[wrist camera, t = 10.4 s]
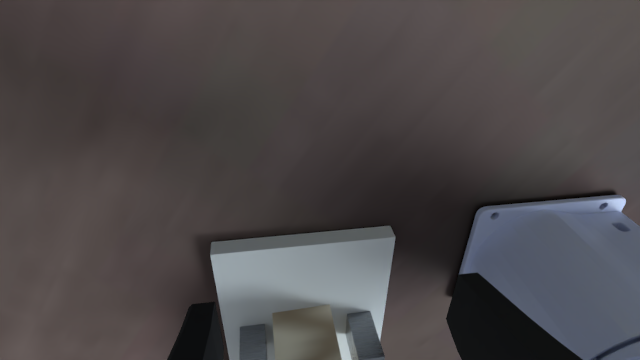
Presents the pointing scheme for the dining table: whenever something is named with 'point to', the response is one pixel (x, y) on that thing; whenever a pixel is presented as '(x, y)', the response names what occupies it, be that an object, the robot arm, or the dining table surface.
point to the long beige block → (305, 334)
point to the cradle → (304, 287)
